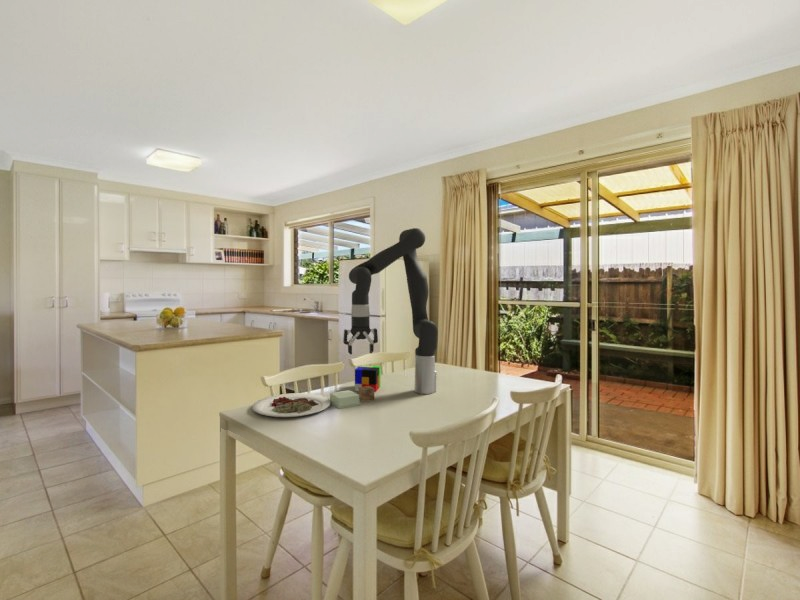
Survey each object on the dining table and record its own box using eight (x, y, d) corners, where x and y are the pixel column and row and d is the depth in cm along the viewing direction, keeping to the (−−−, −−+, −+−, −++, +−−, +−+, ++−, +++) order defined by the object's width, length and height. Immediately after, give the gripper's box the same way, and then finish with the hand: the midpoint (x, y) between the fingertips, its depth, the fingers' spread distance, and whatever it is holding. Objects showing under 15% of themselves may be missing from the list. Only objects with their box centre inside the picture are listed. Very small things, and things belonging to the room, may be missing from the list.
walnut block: (368, 397, 180) (368, 385, 179) (374, 400, 175) (374, 388, 175) (358, 398, 177) (358, 387, 177) (364, 401, 173) (364, 390, 172)
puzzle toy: (354, 390, 189) (354, 369, 189) (360, 385, 199) (360, 365, 199) (375, 392, 188) (376, 370, 187) (380, 386, 198) (380, 366, 197)
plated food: (311, 424, 145) (312, 414, 145) (236, 417, 151) (236, 408, 151) (340, 400, 175) (340, 392, 175) (276, 395, 181) (276, 387, 181)
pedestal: (349, 398, 176) (349, 389, 176) (360, 404, 168) (360, 395, 168) (328, 402, 171) (328, 392, 170) (338, 408, 162) (338, 398, 162)
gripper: (375, 313, 176) (375, 351, 177) (342, 314, 172) (342, 352, 173) (379, 315, 169) (379, 354, 170) (344, 316, 165) (345, 356, 166)
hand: (360, 353), depth 171 cm, fingers open, 8 cm apart
